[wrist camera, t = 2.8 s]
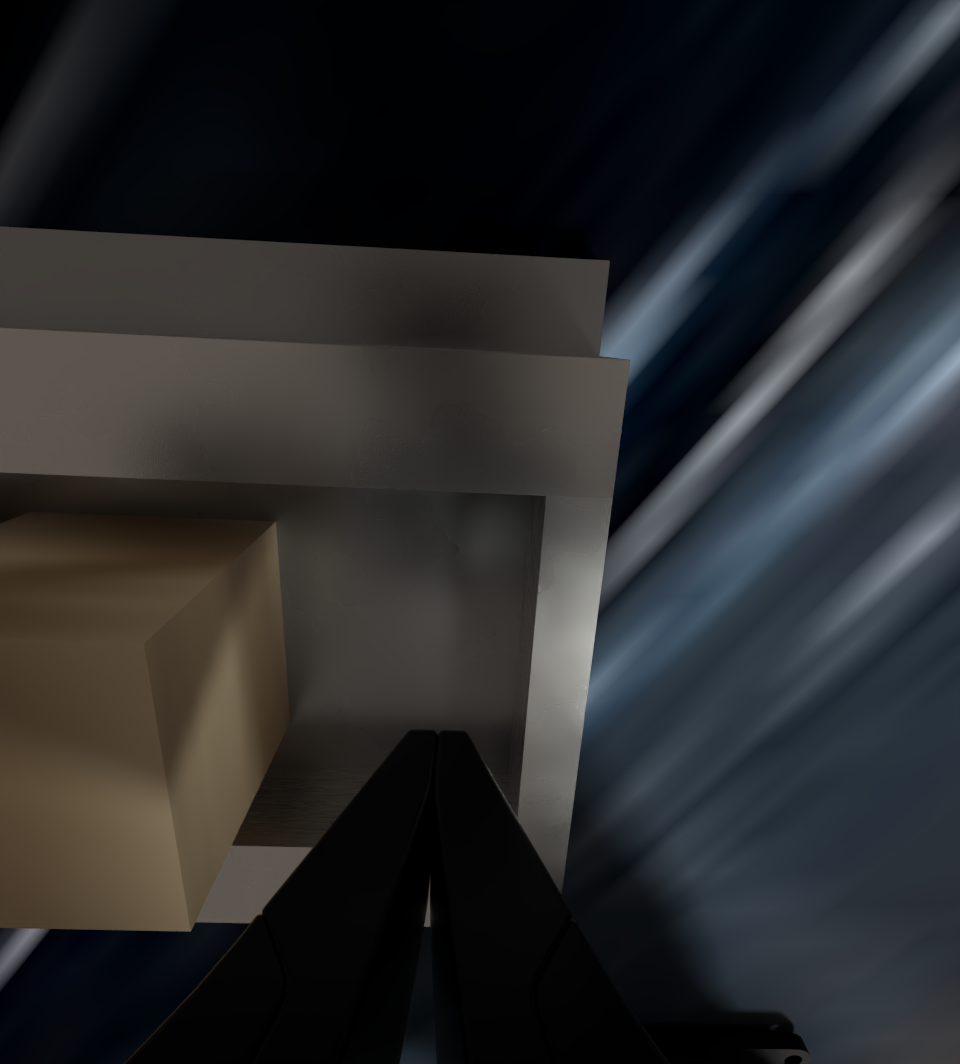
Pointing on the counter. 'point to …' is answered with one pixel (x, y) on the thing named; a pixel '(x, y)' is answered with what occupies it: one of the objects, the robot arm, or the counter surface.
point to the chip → (132, 712)
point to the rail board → (335, 544)
